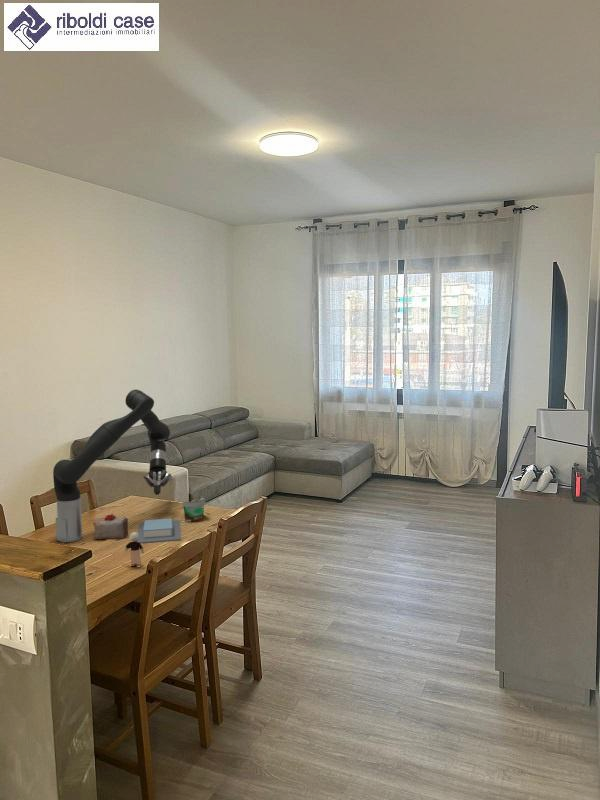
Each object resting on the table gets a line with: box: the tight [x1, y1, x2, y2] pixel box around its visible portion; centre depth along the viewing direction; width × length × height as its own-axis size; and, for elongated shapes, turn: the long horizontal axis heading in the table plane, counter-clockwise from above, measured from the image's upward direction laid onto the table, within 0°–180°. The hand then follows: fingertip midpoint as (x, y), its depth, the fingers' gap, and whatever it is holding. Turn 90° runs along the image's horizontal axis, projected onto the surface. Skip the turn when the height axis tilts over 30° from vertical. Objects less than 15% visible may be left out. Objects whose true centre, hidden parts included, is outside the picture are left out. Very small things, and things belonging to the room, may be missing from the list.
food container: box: [182, 495, 206, 523], centre depth 269 cm, size 12×6×10 cm, turn 146°
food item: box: [93, 513, 129, 540], centre depth 247 cm, size 14×8×10 cm, turn 91°
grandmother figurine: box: [124, 531, 145, 567], centre depth 216 cm, size 8×4×13 cm, turn 88°
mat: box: [136, 519, 182, 545], centre depth 254 cm, size 26×18×1 cm
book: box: [143, 517, 174, 539], centre depth 252 cm, size 4×12×14 cm
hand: (157, 493), depth 269 cm, fingers closed
